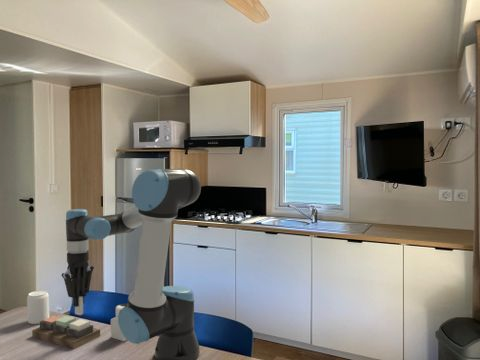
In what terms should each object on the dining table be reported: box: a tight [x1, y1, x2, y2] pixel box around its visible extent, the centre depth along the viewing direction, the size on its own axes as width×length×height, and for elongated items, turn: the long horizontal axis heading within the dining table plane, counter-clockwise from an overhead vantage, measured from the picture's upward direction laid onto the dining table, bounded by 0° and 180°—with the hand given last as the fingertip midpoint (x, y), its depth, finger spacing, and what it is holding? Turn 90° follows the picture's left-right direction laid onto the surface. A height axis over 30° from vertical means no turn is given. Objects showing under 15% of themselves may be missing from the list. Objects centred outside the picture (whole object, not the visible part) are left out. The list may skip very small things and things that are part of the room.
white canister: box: [26, 290, 50, 325], centre depth 168 cm, size 8×8×12 cm
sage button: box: [56, 315, 77, 327], centre depth 153 cm, size 5×5×2 cm
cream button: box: [69, 318, 91, 331], centre depth 149 cm, size 5×5×2 cm
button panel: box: [31, 315, 101, 350], centre depth 153 cm, size 23×12×5 cm, turn 62°
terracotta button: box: [43, 315, 61, 324], centre depth 156 cm, size 5×5×2 cm
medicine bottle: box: [110, 303, 128, 342], centre depth 153 cm, size 7×7×12 cm
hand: (79, 313), depth 149 cm, fingers closed
